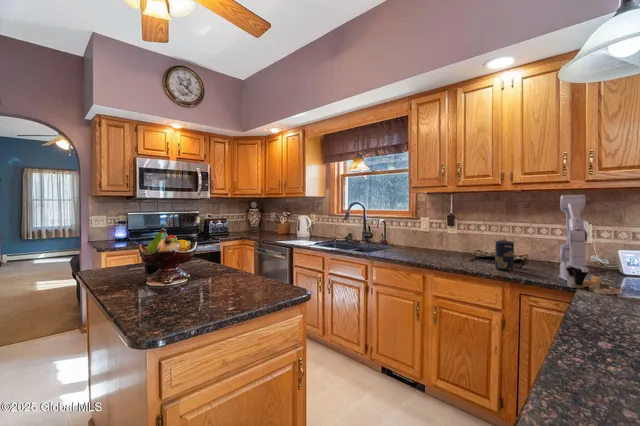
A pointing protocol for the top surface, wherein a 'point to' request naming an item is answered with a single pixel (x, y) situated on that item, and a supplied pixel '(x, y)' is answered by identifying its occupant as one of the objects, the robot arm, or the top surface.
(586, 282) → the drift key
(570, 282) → the grey block
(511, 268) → the canister
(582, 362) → the top surface
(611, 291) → the tan flat bracket
